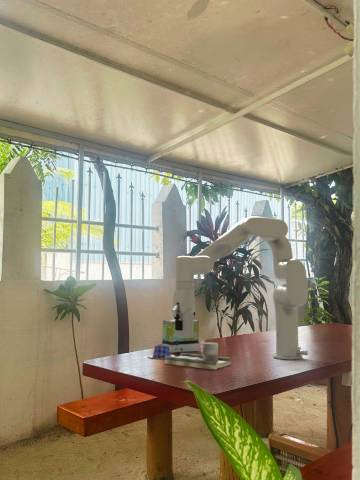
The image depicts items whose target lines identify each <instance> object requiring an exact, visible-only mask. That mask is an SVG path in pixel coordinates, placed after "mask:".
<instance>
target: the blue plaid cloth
mask: <svg viewBox="0 0 360 480" xmlns="http://www.w3.org/2000/svg"><path fill="white" fill-rule="evenodd" d="M166 356H168V357H176V355H175V354H172V353H170V351H169V347H168V346H167V345H162V344H158V345H155V346H154V349H153V353H152V354H149V355H148V356H147V357H148V358H151V359H155V360H158V359H159V360H163V359H164V360H165V357H166Z"/></svg>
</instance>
